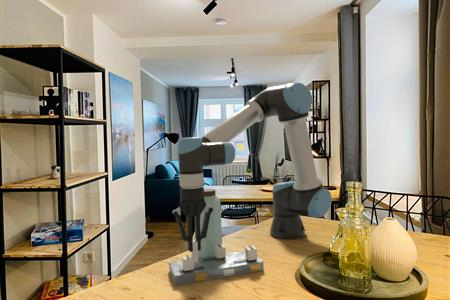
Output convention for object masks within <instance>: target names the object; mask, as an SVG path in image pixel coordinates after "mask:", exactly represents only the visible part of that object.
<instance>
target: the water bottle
mask: <svg viewBox="0 0 450 300" xmlns="http://www.w3.org/2000/svg"><path fill="white" fill-rule="evenodd" d="M204 200H205V202H206V205H208V206H211V207H212V208H213V211H212V213H211V215H210V220H209V225H208V230H207V235H206V238H203V239H201V250H200V251H198V258H201V257H208V256H214V255H215V245H218V244H220V245H222V244H223V237H222V236H223V233H222V231H223V230H222V228H223V227H222V210H221V208H222V207H221V206H222V205H221V199H220V198H219V197H218V196H217V195H216V189H215V188H204ZM204 215H205V208H204V210H203V211H202V213H201V214H200V231H202V225H203V220H204Z"/></svg>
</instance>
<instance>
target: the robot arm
mask: <svg viewBox="0 0 450 300" xmlns="http://www.w3.org/2000/svg"><path fill="white" fill-rule="evenodd" d="M313 101H314V100H313V96H312V93H311V91H310V89H309V88H308V87H307V86H306V85H305V84H304V83H301V82H289V83H286V84H281V85H277V86H271V87H267V88H266V89H264V90H262V91H261V92H259V93H258V94H256V95H255V96H253V97H252V98H251V99H249V100H248V101H246V103H245V106H244V107H242V108H241V109H239V110H238V111H237V112H235V113H234V114H233V115H231V116H230V117H228V118H227V119H226V120H224V121H223V122H221V123H220V124H218V125H217V126H215V127H214V128H213V129H211V130H210V131H208V132H207V133H206V134H204V135H203V136H201V137H200V136H198V137H196V136H195V137H181V138H179V139H178V142H177V157H178V158H177V159H178V172H179V173H178V174H179V177H178V178H179V187H180V189H179V199H180V201H179V204H178V207H177V208H176V209H173V210H172V214H173V216H174V217H175V220H176V222H177V225H178V228H179V233H180V235H181V239H182V240H183V241H184V242H187V249H188V252H190V253H191V255H192V257H193V258H194V263H196V262H198V251H200V250H201V239H203V238H206V235H207V230H208V225H209V220H210V215H211V213H212V211H213V208H212V207H211V206H208V205H206V202H205V200H204V189H205V187H204V185H205V182H204V181H205V180H204V167H210V166H211V167H212V166H225V165H230V164H232V163H233V162H234V161H235V159H236V148H235V146H234V144H232V143H231V141H232V140H234V139H235V138H236V137H238V136H239V135H240V134H241V133H243V132H245V131H246V130H247V129H249V128H250V127H252V125H254V124H255V123H260V122H262V121H263V120H265V119H267V118H270V117H275V116H277V119H278V122H279V123H280V124H281V125H282V126H283V127H284V134H285V138H286V142H287V147H288V150H289V151H288V153H289V155H290V161H291V165H292V170H293V174H294V179H295V180H294V181H282V182H278V183H274V184H273V186H272V193H271V194H272V206H273V207H272V208H273V217H272V223H271V225H270V228H269V234H270V236H271V237H274V238H277V239H282V240H283V239H285V240H294V239H299V238H303V237H305V235H306V227H305V226H304V223H303V220H302V217H301V215H303V216H308V217H311V218H322V217H324V216H326V215H327V213H328V212H329V210H330V208H331V205H332V202H333V201H332V198H333V197H332V193H331V191H329V190H328V189H327V188H324V186H323V181H322V180H321V179H319V178H318V175H317V171H316V166H315V160H314V154H313V149H312V144H311V139H310V136H309V130H308V126H307V119H308V118H309V115H310V113H309V112H310V110H311V109H312V105H313ZM204 208H205V215H204V220H203V225H202V231H200V214H201V213H202V211H203V210H204ZM181 212H182V213H183V214H184V216H185V217H186V231H185V228H184V224H183V221H182V217H181V215H182V213H181ZM193 218H194V236H195V239H194V237H193ZM186 232H187V233H186Z"/></svg>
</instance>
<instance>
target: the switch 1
mask: <svg viewBox="0 0 450 300" xmlns="http://www.w3.org/2000/svg"><path fill="white" fill-rule="evenodd" d="M181 260H182V261H183V269H184V271H187V270H194V258H193V257H192V254H191V255H190V254H186V255H184V256H182V259H181Z"/></svg>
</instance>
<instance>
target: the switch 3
mask: <svg viewBox="0 0 450 300" xmlns="http://www.w3.org/2000/svg"><path fill="white" fill-rule="evenodd" d="M244 251H245V257H246V258H247V259H248V260H249V261H250V260H256V259H257V257H258V248H257V247H255V246H254V245H248V246H246V247H244Z"/></svg>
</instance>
